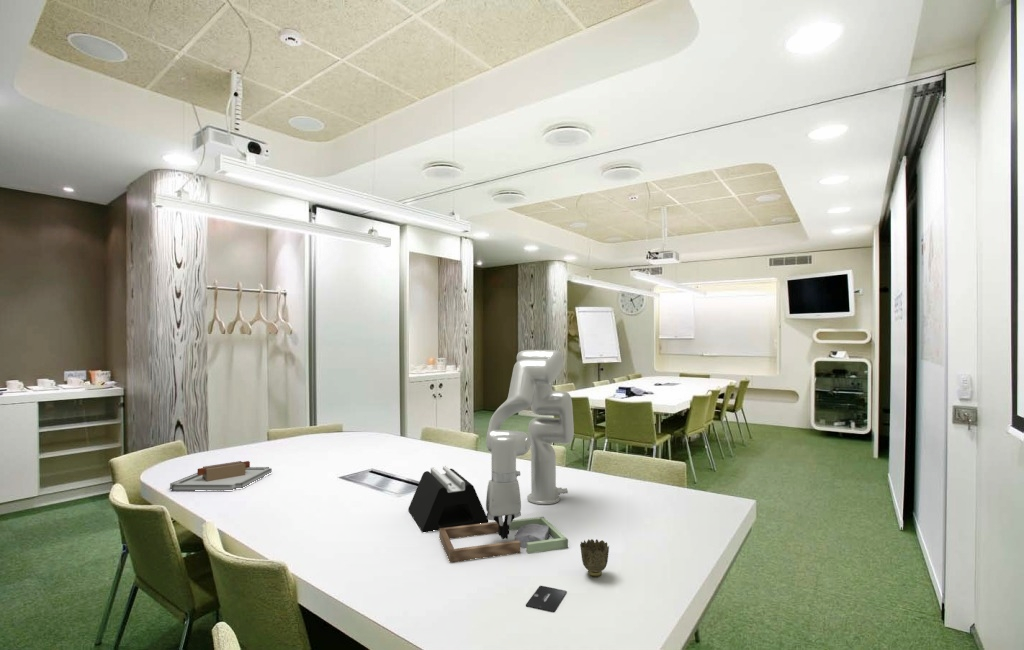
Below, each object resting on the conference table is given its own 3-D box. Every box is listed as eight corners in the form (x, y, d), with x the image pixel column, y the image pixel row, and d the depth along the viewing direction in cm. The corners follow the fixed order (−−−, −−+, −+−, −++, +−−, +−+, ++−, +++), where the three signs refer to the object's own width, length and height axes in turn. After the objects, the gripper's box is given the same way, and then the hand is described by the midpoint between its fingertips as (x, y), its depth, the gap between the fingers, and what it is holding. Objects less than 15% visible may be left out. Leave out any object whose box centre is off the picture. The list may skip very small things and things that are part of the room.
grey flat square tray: (237, 493, 201) (238, 474, 201) (165, 492, 202) (166, 474, 202) (274, 473, 231) (274, 457, 231) (211, 473, 232) (211, 457, 232)
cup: (577, 569, 131) (577, 539, 131) (604, 568, 131) (604, 538, 131) (584, 583, 123) (583, 550, 123) (612, 581, 124) (612, 549, 124)
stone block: (514, 554, 145) (547, 549, 143) (511, 537, 145) (543, 533, 144) (521, 540, 156) (551, 535, 155) (518, 524, 157) (548, 520, 155)
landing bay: (543, 524, 163) (543, 516, 164) (568, 547, 144) (567, 539, 145) (507, 528, 160) (507, 520, 160) (528, 553, 141) (528, 544, 141)
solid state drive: (525, 608, 112) (525, 605, 112) (540, 588, 121) (540, 585, 122) (554, 614, 110) (554, 611, 110) (567, 593, 119) (567, 590, 119)
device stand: (422, 533, 156) (422, 486, 157) (408, 511, 177) (408, 470, 178) (488, 523, 165) (488, 478, 166) (467, 503, 186) (467, 463, 186)
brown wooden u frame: (502, 530, 158) (502, 520, 158) (520, 552, 141) (520, 542, 141) (439, 538, 152) (439, 528, 152) (449, 562, 135) (449, 551, 135)
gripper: (522, 471, 155) (522, 530, 155) (477, 475, 151) (477, 536, 150) (531, 477, 148) (531, 539, 148) (483, 481, 144) (483, 545, 143)
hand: (503, 537), depth 149 cm, fingers closed
